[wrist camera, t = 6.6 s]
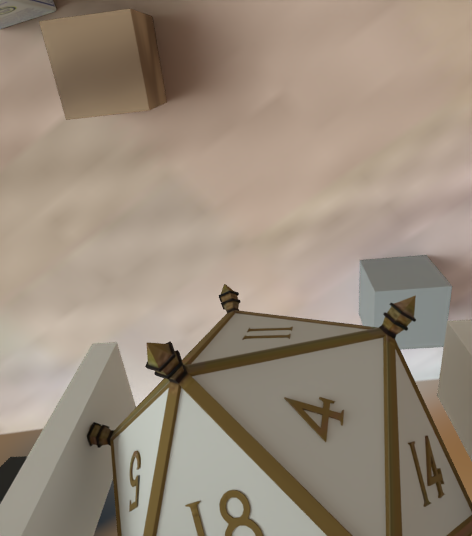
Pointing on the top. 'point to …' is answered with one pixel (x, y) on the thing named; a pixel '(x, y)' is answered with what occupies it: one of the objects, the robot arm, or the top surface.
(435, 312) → the slate grey cube
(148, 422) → the game die
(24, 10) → the medicine box
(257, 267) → the top surface
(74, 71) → the walnut cube
